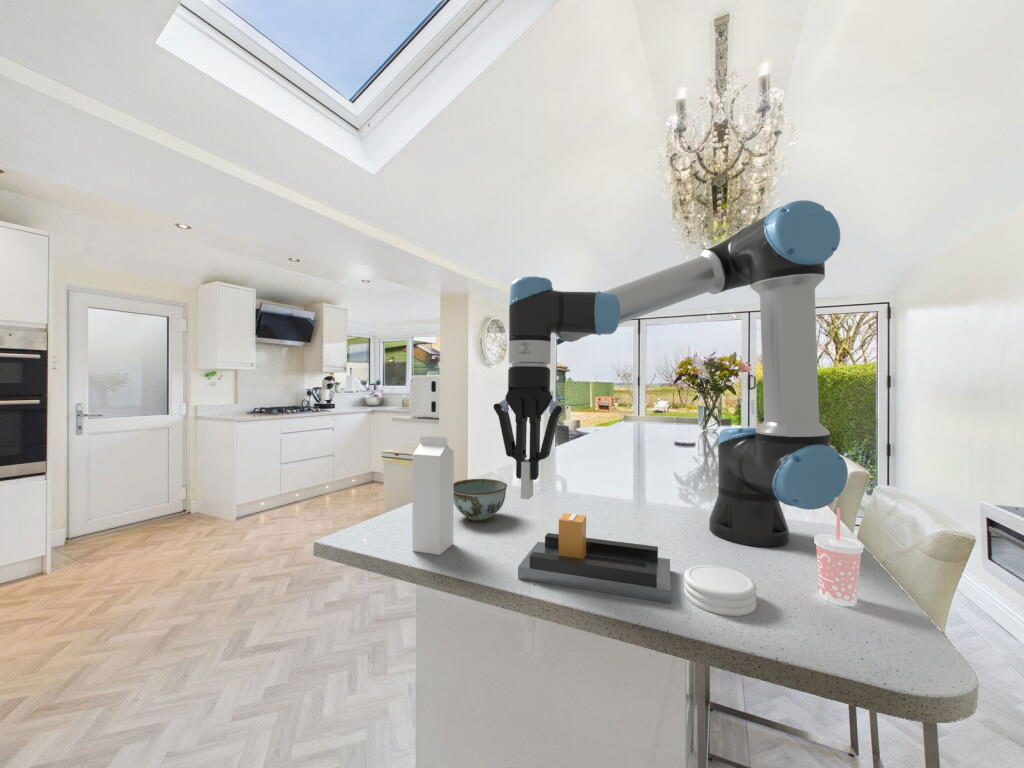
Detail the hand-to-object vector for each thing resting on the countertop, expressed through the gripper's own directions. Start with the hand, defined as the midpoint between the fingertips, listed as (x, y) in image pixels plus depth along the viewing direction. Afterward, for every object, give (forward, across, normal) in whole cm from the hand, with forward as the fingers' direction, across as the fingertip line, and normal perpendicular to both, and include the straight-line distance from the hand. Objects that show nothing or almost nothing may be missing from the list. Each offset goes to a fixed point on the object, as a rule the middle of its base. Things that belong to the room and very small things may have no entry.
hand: (526, 496), depth 79 cm
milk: (+13, -20, +1) cm, 23 cm away
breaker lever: (+10, +8, 0) cm, 13 cm away
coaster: (+12, +32, -2) cm, 34 cm away
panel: (+12, +12, 0) cm, 17 cm away
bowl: (+13, -18, +21) cm, 31 cm away
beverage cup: (+12, +48, +4) cm, 50 cm away
